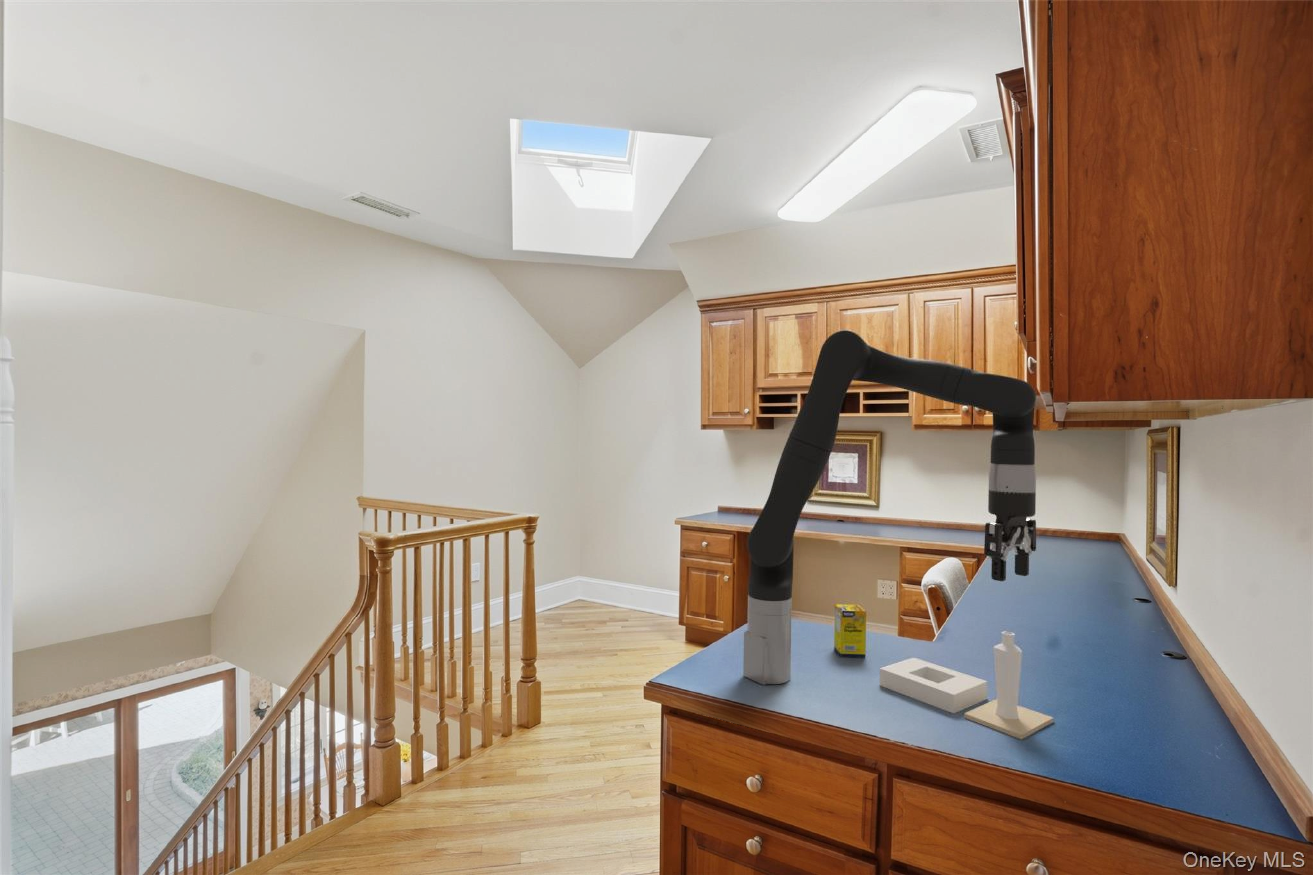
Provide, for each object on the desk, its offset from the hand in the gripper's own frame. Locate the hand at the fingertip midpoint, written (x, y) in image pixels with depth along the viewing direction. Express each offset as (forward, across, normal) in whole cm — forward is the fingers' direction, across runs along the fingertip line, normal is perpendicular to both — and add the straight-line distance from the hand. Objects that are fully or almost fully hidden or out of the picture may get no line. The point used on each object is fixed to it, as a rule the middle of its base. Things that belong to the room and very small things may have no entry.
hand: (1010, 577), depth 115 cm
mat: (+26, 0, 0) cm, 26 cm away
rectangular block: (+26, 0, +15) cm, 30 cm away
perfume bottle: (+25, 0, 0) cm, 25 cm away
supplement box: (+26, +5, +39) cm, 47 cm away
